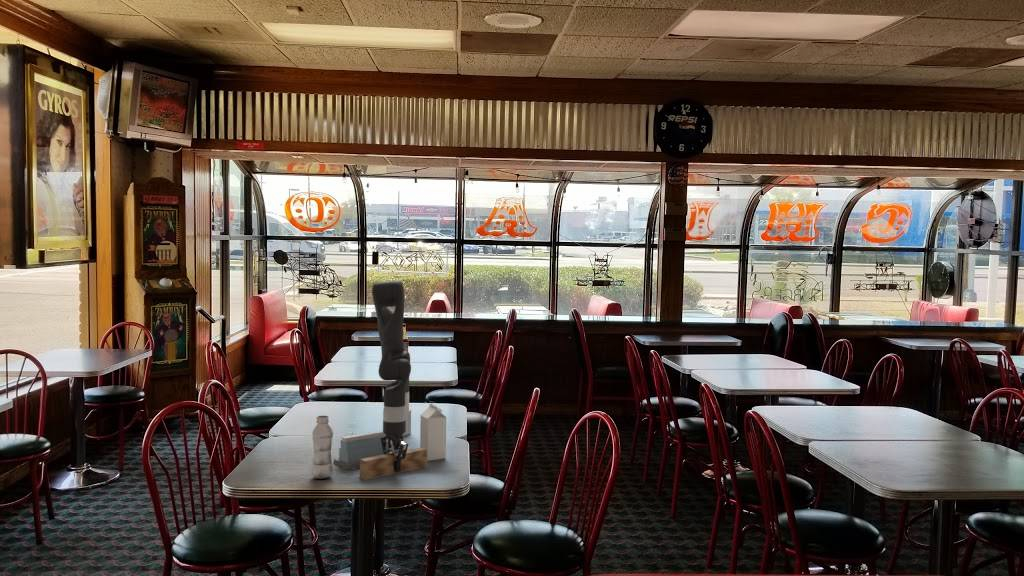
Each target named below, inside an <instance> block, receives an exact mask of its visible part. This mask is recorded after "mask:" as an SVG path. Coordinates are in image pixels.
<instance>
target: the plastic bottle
mask: <svg viewBox="0 0 1024 576" xmlns="http://www.w3.org/2000/svg"><path fill="white" fill-rule="evenodd" d="M329 418H330V417H329V416H328V415H317V416H316V422H315V423H316V425H315V427H314V428H313V430H312V432H311V434H312V435H311V436H312V443H313V458H312V465H311V475H312V477H313V478H314V479H316V480H317V479H318V480H319V479H320V480H321V479H322V480H323V479H328V478H330V477H331V476H332V475H333V470H334V469H333V463H332V444H333V436H334V431H333V429H332V427H331V426H330V425H329V423H330V421H329Z"/></svg>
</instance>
